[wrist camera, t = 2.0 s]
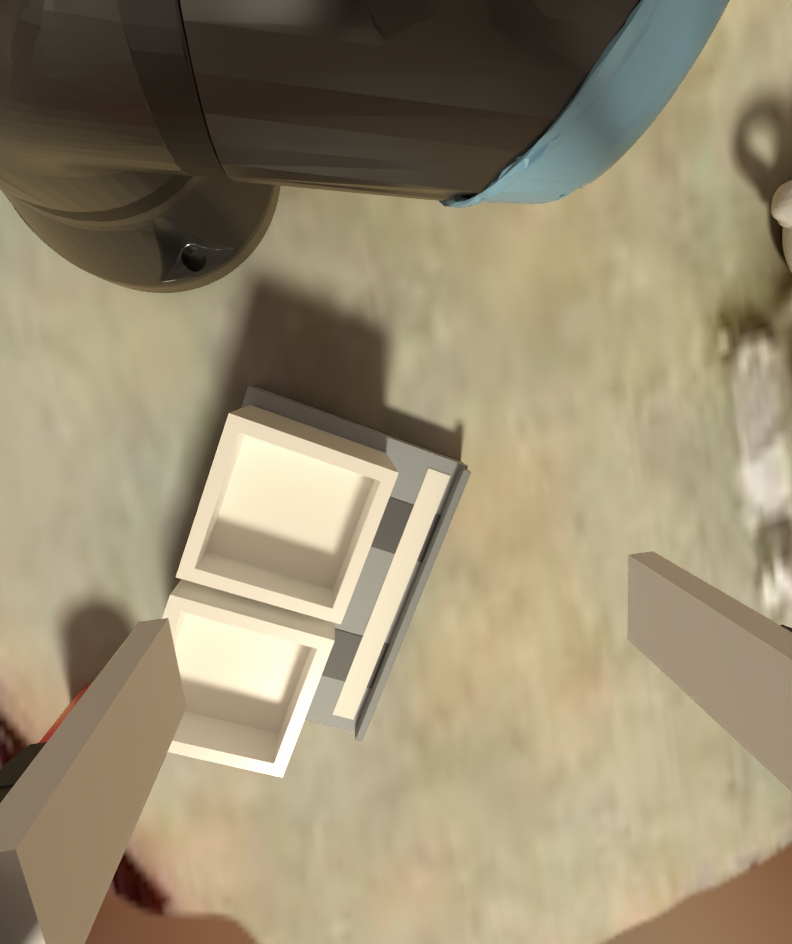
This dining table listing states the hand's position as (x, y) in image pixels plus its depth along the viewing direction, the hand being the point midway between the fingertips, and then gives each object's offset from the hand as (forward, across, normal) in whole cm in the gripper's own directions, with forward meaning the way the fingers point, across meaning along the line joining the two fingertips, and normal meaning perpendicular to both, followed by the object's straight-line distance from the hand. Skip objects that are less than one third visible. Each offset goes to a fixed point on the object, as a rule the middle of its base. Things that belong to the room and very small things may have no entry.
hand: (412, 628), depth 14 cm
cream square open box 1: (+19, -5, 0) cm, 20 cm away
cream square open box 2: (+19, -9, -9) cm, 23 cm away
